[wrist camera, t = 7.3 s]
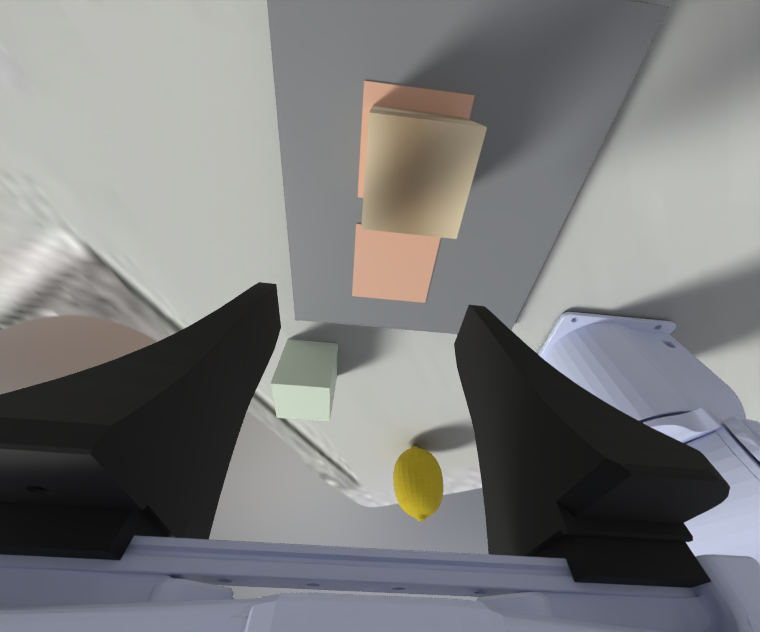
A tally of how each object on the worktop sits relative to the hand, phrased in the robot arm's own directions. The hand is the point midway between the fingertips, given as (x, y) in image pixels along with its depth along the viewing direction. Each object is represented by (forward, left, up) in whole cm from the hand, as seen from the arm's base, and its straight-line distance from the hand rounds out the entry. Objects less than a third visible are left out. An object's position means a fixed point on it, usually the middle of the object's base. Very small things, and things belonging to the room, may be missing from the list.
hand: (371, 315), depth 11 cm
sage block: (+5, +14, -10) cm, 18 cm away
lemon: (-7, +28, -11) cm, 30 cm away
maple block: (-1, -4, -9) cm, 10 cm away
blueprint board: (-3, -1, -10) cm, 11 cm away
